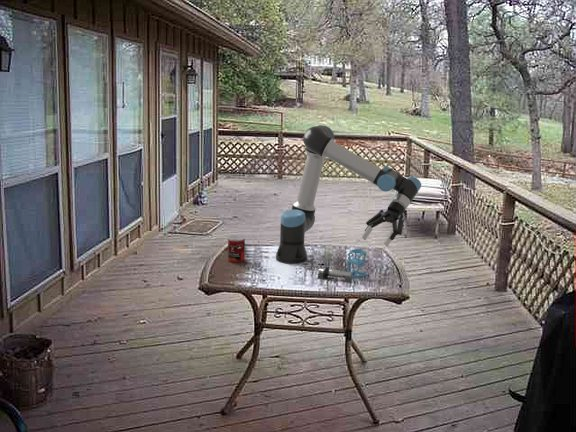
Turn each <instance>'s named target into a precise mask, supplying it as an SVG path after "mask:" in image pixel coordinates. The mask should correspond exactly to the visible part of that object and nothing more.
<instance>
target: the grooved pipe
mask: <svg viewBox="0 0 576 432" xmlns="http://www.w3.org/2000/svg"><path fill="white" fill-rule="evenodd" d="M351 272H352V271H351ZM351 272H349V271H348V270H338V269H331V268H330V266H329V267H327V266H324V267H321V268H319V269H318V273H317V279H318V280H319V279H320V280H323V279H325V278H327V279H328V277H334V278H340V279H342V278H344V282H345V283H351V281H352V280H353V275H351Z"/></svg>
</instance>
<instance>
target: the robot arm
mask: <svg viewBox="0 0 576 432" xmlns="http://www.w3.org/2000/svg"><path fill="white" fill-rule="evenodd" d="M302 138H303V143H304V144H303V145H304V146H305V150H304V151H305V153H306V159H305V162H304V163H305V164H304V168H303V173H302V176H301V180H300V181H301V182H300V183H299V184H300V185H299V190H298V194H297V197H296V200H295V201H294V202H293V203H292V207H291V209H287V210H285V211H283V212H282V213H281V215H280V219H279V220H280V230H279V231H280V235H279V246H278V247H277V251H276V254H275V259H276V261H278V262H280V263H283V264H284V263H285V264H303V263H305V262H307V261H308V253H307V251H306V246H305V235H306V233H307V231H309V230H310V229H312V228H313V226H314V224H315V222H316V221H315V220H316V216H315V214H316V206H315V205H314V203H315V199H316V195H317V193H318V192H317V191H318V188H319V184H320V183H319V182H320V179H321V174H322V171H323V166H324V162H325V159H326V158H328V159H330V160H331V161H333V162H335V163H337V164H339V165H340V166H342V167H343V168H345V169H347V170H349V171H350V172H353V173H354V174H356V175H358V176H360V177H361V178H363V179H365V180H367V181H368V182H370V183H372V184H374V185H375V186H377V187H378V189H379V191H383V192H389V191H391V190H394V191H396V192H397V193H396V194H395V197H393V198H392V200H391V202H390V204H389V205H388V206H387V209H386V211H384V210H383V209H380V210H379V211H378V212H377V213H376V214H375V215H374V216H372V217H371V218H370V219H368V220H367V221H366V222H365V224H366V225H367V226H366V228H365V229H364V232H363V234H362V235H361V238H362V240H364V241H366V240H367V238H368V237H369V235H370V234H371V233H372V231H373V230H374V229H373V228H375V227H377V226H379V225H381V224H383V223H390V224H392V225H391V226H392V231H390V232H389V234H388V236H387V237H386V239H385V240H384V242H383V244H384V246H385V247H389V245H390V243H392V241H394V239H395V238H396V236H398V235H400V236H402V234H403V229H404V228H403V227H404V222H405V220H406V217H405V216H404V213H405V212H406V210H407V209H408V207H409V206H410V204H411V203H412V201H413V200H414V198H415V197H416V196H417V194H418V193H419V192H420V189H421V188H422V182H421V181H420V179H418V178H417V177H414V176H411V175H410V176H408V177H406V176H403V175H402V174H400V173H399V172H397V171H395V170H394V169H393V168H391V167H389V166H384V167H383V168H381V167H379V166H377V165H376V164H373V163H372V162H370V161H369V160H366V159H365V158H363V157H361V156H360V155H357V154H356V153H354V152H352V151H351V150H349V149H347V148H346V147H344V146H341V145H340V144H338V143H337V142H335V134H334V132H333V130H332V129H331V128H330V127H329V126H327V125H323V124H318V125H316V126H311V127H309V128H308V129H306V131H305V132H304V134H303V137H302Z"/></svg>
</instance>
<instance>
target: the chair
mask: <svg viewBox="0 0 576 432" xmlns="http://www.w3.org/2000/svg"><path fill="white" fill-rule="evenodd" d="M352 253H354V258H352V257H351V254H352ZM357 254H358V255H357ZM367 254H368V253H367V252H366V251H365V250H363V249H361V248H355V249H351V250H350V251H349V252H348V255H347V256H348V260H346V263H347V269H348V270H347V271H349V272H351V275H352V280H354V279H359V278H363V277H369V273H366V272H361V271H360V269H361V267H362V266H363V265H364V264H366V263H368V262H367V261H368V260H366V256H367ZM362 256H363V257H362ZM361 257H362V258H363V259H361ZM352 265H355V266H357V269H356V270H354V269H353V270H352V269H351V268H352V267H351V266H352Z"/></svg>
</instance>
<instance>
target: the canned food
mask: <svg viewBox="0 0 576 432" xmlns="http://www.w3.org/2000/svg"><path fill="white" fill-rule="evenodd" d="M227 239H228V240H227V259H228V260H227V261H228V262H230V263H242V262H244V261H245V251H246V250H245V248H246V247H245V245H246V243H245V241H246V238H245V237H244V236H239V235H238V236H237V235H235V236H234V235H233V236H230V237H228V238H227Z"/></svg>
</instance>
